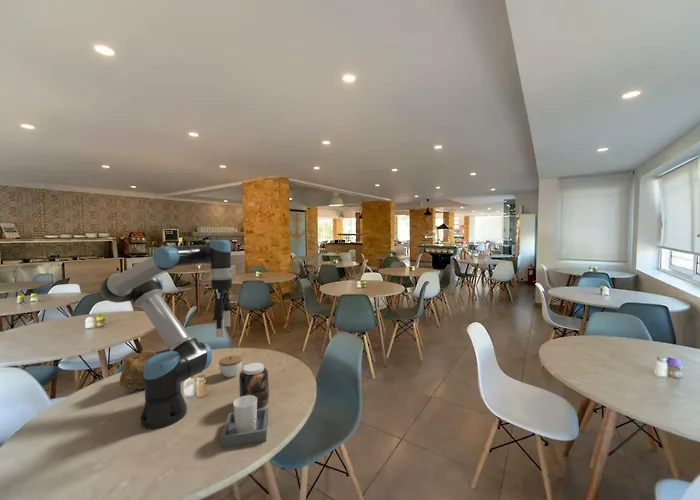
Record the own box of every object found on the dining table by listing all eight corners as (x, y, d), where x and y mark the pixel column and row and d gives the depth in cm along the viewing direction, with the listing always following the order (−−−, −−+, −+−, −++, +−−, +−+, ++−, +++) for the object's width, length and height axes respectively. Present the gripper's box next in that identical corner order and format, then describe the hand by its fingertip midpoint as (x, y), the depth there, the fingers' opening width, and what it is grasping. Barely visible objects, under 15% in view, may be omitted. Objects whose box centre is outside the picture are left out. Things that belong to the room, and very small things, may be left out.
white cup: (250, 437, 101) (249, 408, 101) (229, 435, 103) (228, 406, 102) (262, 423, 109) (261, 396, 108) (242, 421, 110) (241, 394, 110)
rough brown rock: (155, 397, 132) (157, 363, 132) (112, 398, 129) (114, 363, 129) (175, 375, 155) (176, 346, 155) (139, 376, 152) (140, 346, 152)
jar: (233, 407, 121) (231, 370, 121) (252, 393, 132) (250, 359, 132) (257, 412, 117) (256, 374, 117) (275, 397, 128) (273, 362, 128)
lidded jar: (247, 372, 153) (246, 354, 152) (228, 381, 144) (227, 362, 143) (233, 368, 158) (232, 350, 158) (214, 376, 149) (214, 357, 149)
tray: (221, 448, 98) (221, 437, 98) (229, 422, 111) (228, 413, 111) (266, 440, 101) (265, 430, 101) (268, 416, 114) (268, 407, 114)
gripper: (225, 282, 109) (227, 340, 110) (236, 274, 133) (238, 322, 134) (203, 283, 107) (205, 342, 108) (218, 275, 132) (220, 323, 133)
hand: (223, 331), depth 121 cm, fingers open, 13 cm apart
